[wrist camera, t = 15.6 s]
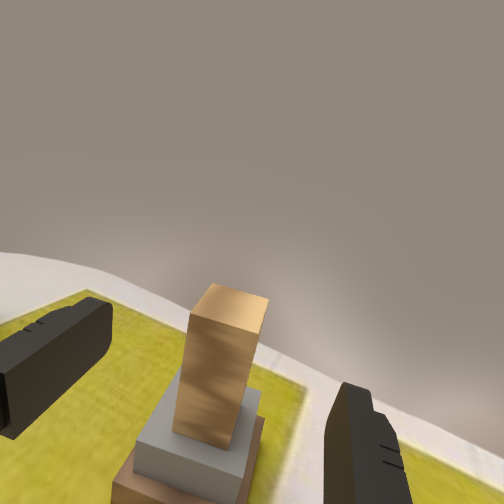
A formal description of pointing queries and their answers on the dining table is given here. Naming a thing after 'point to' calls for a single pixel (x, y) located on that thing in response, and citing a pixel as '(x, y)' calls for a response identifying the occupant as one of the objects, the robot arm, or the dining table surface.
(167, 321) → the dining table surface
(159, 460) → the gray slab
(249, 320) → the oak pillar
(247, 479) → the walnut slab
